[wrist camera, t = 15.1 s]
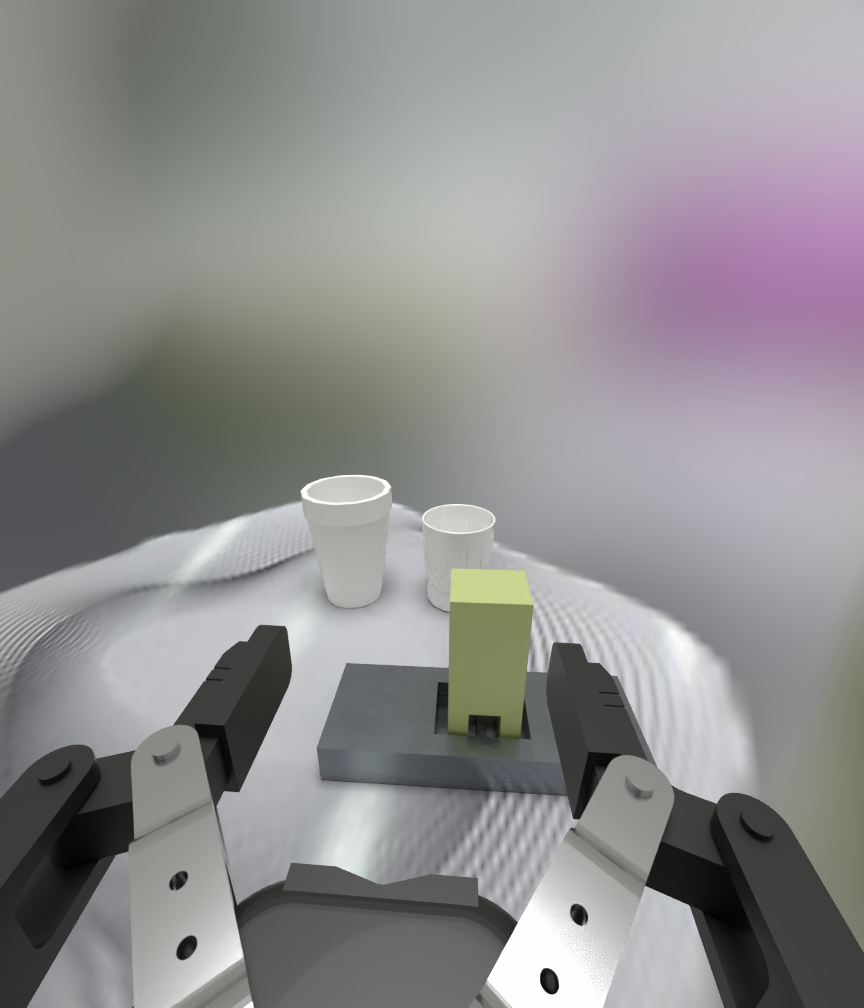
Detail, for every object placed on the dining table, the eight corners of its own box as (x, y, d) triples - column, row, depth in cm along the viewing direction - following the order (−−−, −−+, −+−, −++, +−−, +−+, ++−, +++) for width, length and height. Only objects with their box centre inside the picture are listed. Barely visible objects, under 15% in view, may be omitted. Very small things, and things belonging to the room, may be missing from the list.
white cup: (473, 625, 46) (476, 539, 43) (409, 603, 50) (407, 523, 46) (501, 589, 53) (506, 512, 49) (443, 572, 56) (444, 499, 53)
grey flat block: (321, 779, 30) (316, 748, 29) (349, 691, 38) (346, 663, 37) (649, 800, 29) (657, 768, 28) (611, 704, 36) (617, 676, 35)
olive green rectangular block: (447, 755, 32) (449, 601, 27) (449, 710, 35) (451, 568, 30) (517, 759, 31) (533, 604, 26) (512, 713, 35) (524, 570, 30)
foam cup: (327, 570, 57) (318, 474, 52) (399, 573, 56) (396, 475, 51) (302, 615, 48) (287, 503, 43) (386, 619, 47) (381, 506, 42)
